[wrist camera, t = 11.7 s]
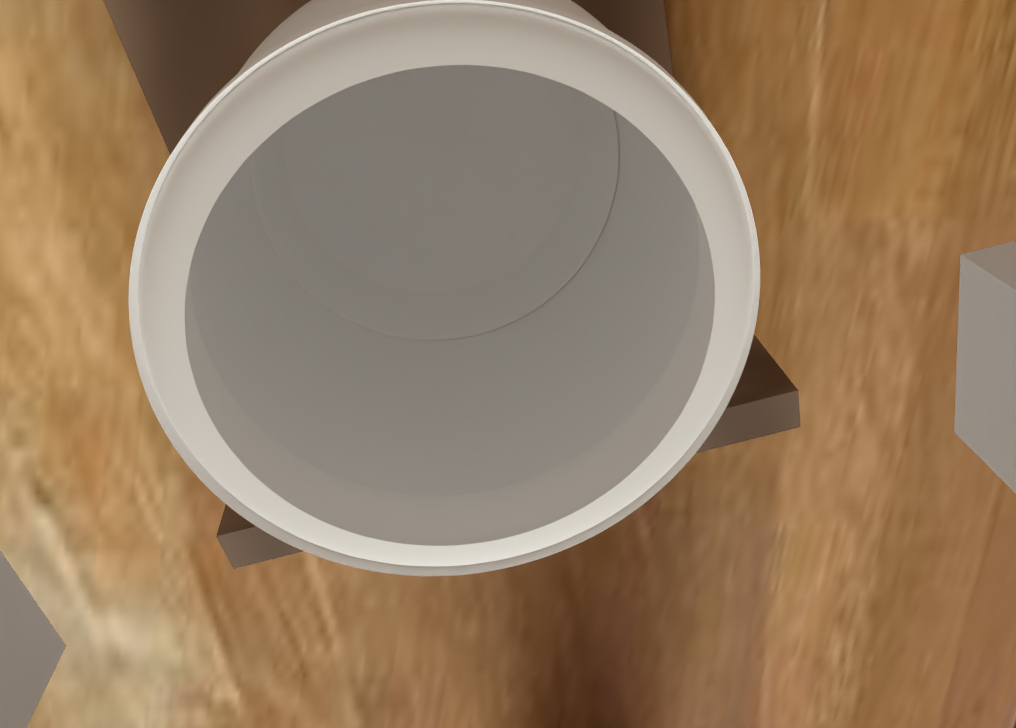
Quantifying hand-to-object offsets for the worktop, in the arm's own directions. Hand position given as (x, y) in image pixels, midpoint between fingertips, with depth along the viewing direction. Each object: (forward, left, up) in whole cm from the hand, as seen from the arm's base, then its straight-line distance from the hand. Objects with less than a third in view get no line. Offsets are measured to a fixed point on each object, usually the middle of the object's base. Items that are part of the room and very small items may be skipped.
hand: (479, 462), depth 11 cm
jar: (0, 0, -18) cm, 18 cm away
